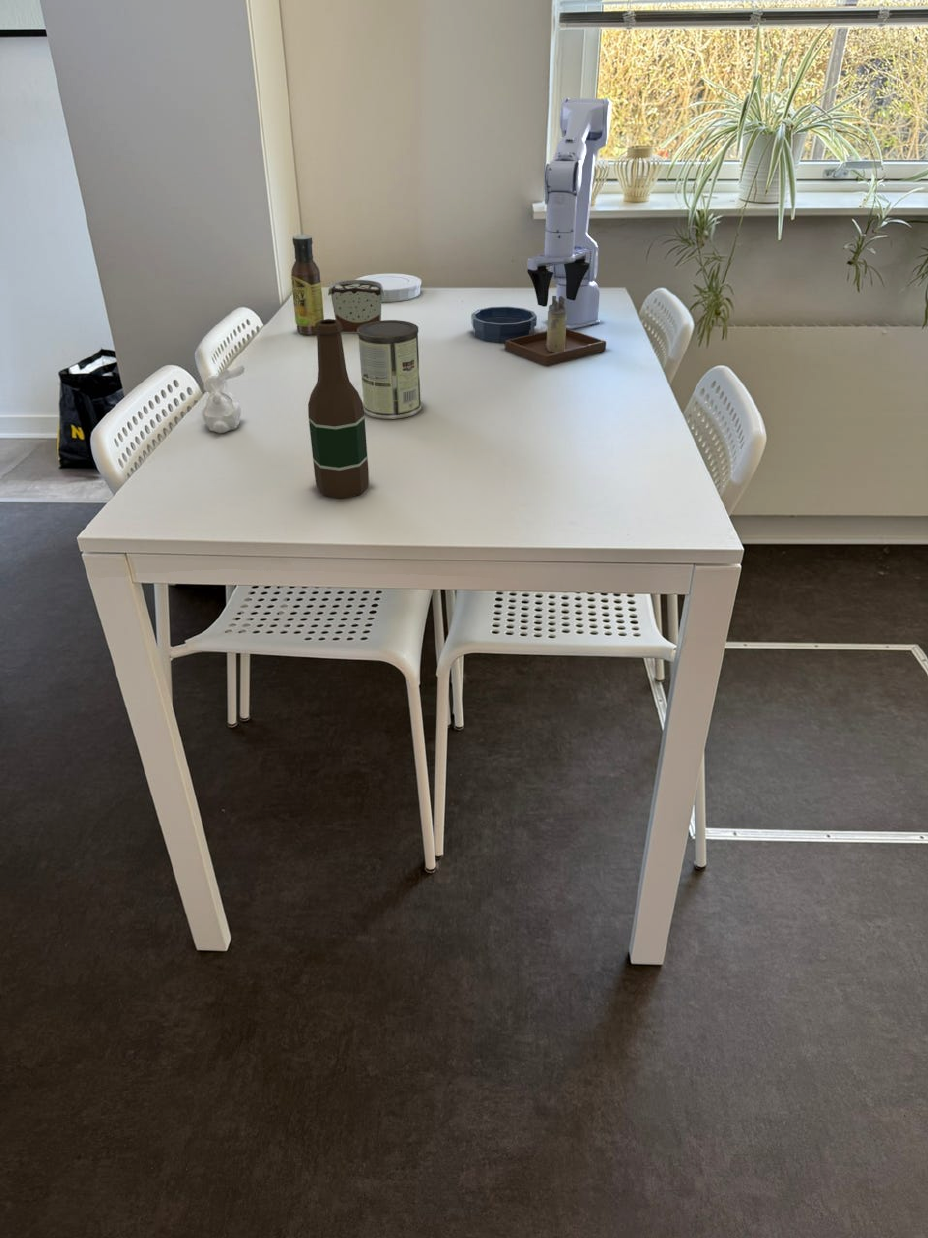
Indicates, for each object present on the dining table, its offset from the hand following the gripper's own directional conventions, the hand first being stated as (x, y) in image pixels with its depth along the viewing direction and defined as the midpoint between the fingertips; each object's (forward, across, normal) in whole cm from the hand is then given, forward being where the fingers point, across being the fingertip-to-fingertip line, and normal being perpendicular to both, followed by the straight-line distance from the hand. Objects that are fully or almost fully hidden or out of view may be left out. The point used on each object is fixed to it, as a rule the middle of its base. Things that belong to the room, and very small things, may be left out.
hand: (556, 302), depth 179 cm
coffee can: (+10, -45, -8) cm, 47 cm away
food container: (+10, -24, +38) cm, 46 cm away
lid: (+10, -4, +61) cm, 62 cm away
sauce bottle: (+10, -34, +42) cm, 55 cm away
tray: (+10, 0, 0) cm, 10 cm away
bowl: (+10, -1, +16) cm, 18 cm away
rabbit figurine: (+10, -71, +2) cm, 72 cm away
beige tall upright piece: (+9, 0, 0) cm, 9 cm away
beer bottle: (+10, -68, -32) cm, 76 cm away
